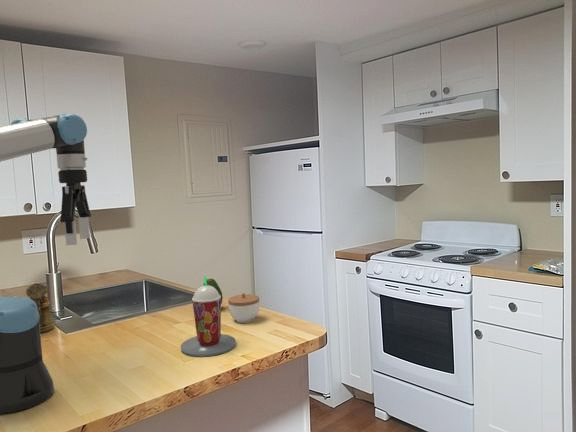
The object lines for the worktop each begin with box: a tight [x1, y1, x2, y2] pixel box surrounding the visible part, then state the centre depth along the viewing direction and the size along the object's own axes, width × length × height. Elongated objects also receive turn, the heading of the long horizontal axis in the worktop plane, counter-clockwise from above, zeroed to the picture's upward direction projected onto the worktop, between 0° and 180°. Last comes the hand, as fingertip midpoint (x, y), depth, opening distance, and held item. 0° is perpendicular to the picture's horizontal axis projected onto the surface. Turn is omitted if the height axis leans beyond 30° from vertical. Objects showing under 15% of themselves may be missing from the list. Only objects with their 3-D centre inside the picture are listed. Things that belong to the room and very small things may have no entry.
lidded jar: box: [227, 292, 260, 324], centre depth 161 cm, size 11×11×9 cm
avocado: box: [202, 278, 224, 305], centre depth 175 cm, size 8×8×12 cm
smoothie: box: [191, 275, 222, 346], centre depth 138 cm, size 8×8×20 cm
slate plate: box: [180, 333, 237, 358], centre depth 138 cm, size 16×16×1 cm
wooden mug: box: [25, 283, 56, 334], centre depth 159 cm, size 9×14×18 cm, turn 28°
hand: (78, 241), depth 138 cm, fingers open, 13 cm apart
